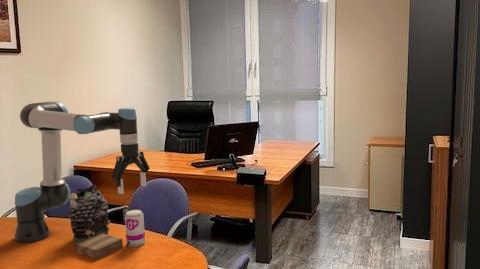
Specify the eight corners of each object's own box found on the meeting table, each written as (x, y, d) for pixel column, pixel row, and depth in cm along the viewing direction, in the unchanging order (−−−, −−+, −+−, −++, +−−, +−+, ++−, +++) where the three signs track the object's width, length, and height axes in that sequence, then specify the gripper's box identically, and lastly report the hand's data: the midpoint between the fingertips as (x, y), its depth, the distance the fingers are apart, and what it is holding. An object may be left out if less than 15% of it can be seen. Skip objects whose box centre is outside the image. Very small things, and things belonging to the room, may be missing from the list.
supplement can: (140, 247, 189) (138, 215, 186) (123, 246, 190) (121, 214, 188) (148, 240, 197) (146, 209, 194) (131, 239, 198) (129, 208, 196)
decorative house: (89, 247, 190) (84, 193, 187) (63, 243, 196) (58, 191, 192) (117, 231, 210) (114, 182, 206) (93, 227, 215) (89, 180, 211)
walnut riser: (76, 252, 185) (75, 243, 185) (102, 241, 197) (101, 233, 196) (97, 259, 178) (96, 250, 177) (122, 247, 190) (122, 238, 189)
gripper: (112, 148, 174) (116, 198, 177) (155, 139, 195) (158, 184, 198) (100, 147, 178) (104, 195, 181) (143, 138, 199) (146, 182, 202)
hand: (132, 189), depth 190 cm, fingers open, 13 cm apart
